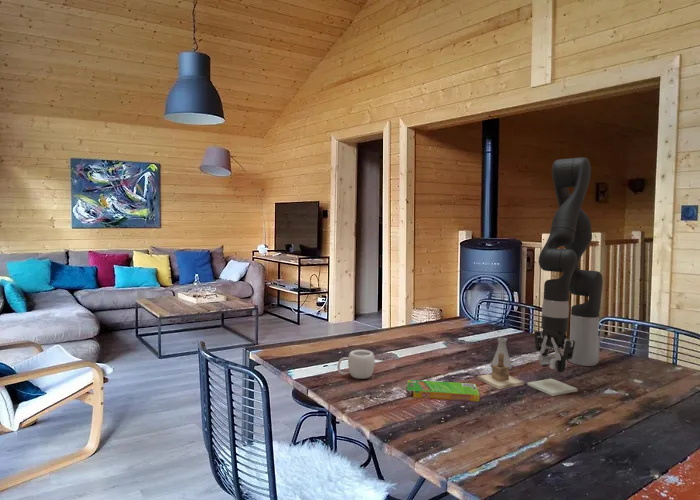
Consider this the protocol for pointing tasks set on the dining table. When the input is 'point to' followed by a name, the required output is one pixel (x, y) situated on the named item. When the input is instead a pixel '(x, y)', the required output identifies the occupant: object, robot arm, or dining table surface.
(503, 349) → the flask
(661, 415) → the dining table surface
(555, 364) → the c link
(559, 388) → the coaster
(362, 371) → the mug
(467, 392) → the game box
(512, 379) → the post stand
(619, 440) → the dining table surface
